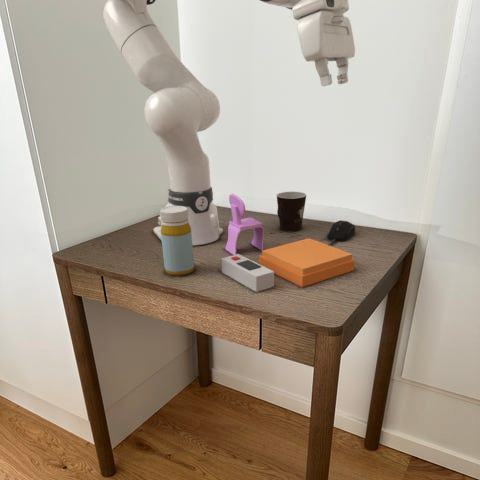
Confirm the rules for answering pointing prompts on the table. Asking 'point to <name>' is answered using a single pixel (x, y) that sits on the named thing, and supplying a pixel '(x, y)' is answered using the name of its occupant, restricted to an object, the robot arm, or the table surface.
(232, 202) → the toy chair
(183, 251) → the bottle
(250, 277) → the remote
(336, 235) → the gaming mouse
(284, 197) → the black cup
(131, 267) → the table surface
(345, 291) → the table surface
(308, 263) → the folded cloth
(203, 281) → the table surface
